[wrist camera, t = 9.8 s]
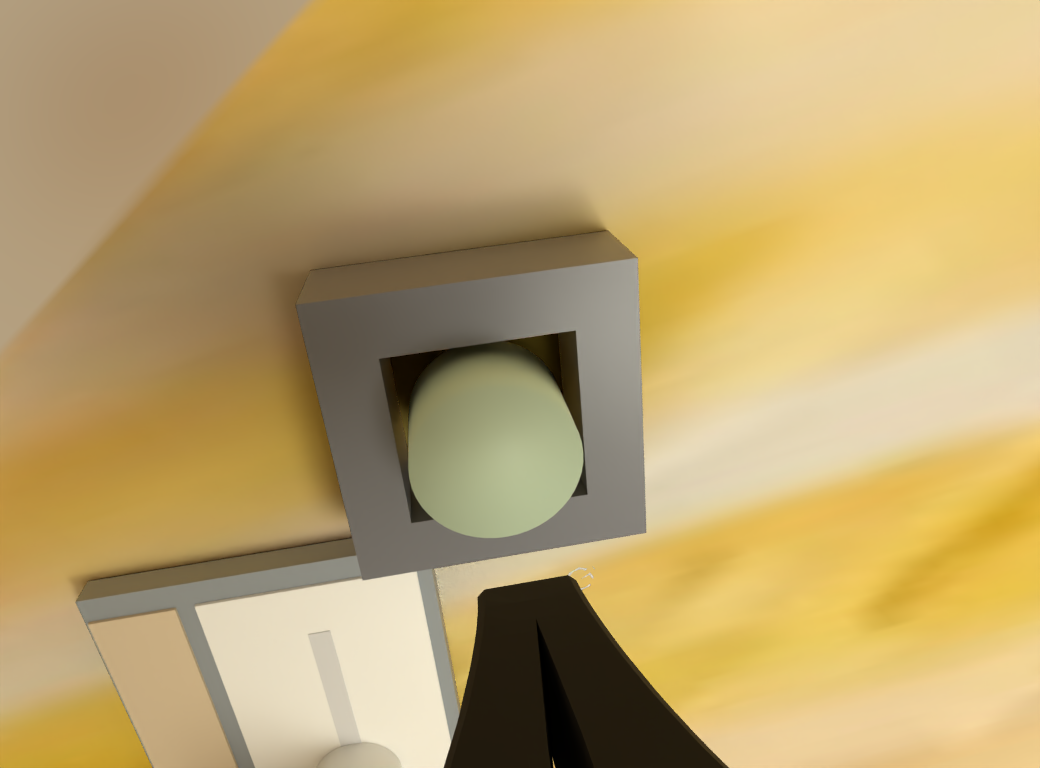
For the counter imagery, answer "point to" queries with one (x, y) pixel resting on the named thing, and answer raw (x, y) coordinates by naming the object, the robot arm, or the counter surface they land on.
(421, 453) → the button
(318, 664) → the board
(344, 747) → the marker teal
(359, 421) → the button housing
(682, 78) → the counter surface
